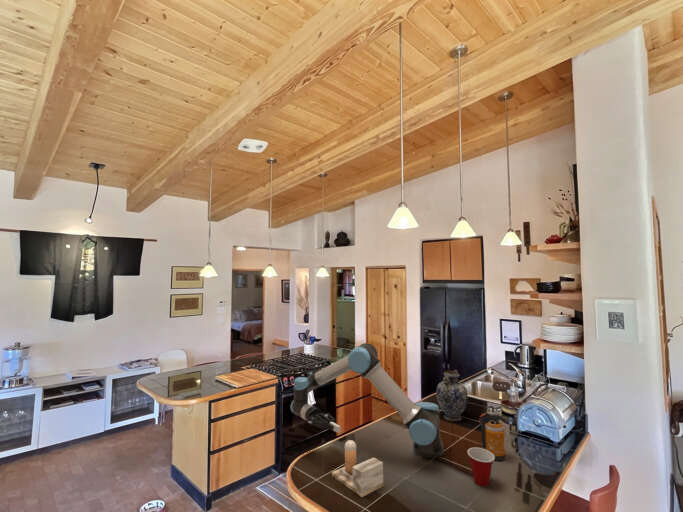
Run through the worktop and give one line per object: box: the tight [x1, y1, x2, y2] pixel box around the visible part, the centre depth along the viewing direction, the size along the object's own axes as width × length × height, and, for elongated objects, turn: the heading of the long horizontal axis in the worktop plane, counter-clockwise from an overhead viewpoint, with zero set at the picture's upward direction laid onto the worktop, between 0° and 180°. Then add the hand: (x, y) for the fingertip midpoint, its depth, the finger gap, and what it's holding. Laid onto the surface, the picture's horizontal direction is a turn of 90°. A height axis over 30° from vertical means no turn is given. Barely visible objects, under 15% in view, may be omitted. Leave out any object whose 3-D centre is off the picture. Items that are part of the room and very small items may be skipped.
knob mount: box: [331, 457, 384, 498], centre depth 152 cm, size 20×12×10 cm, turn 38°
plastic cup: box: [467, 446, 495, 487], centre depth 149 cm, size 11×11×12 cm
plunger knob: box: [344, 439, 357, 476], centre depth 155 cm, size 5×5×14 cm
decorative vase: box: [435, 369, 469, 422], centre depth 218 cm, size 21×19×28 cm
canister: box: [479, 412, 507, 461], centre depth 170 cm, size 9×11×20 cm
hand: (339, 429), depth 161 cm, fingers closed
